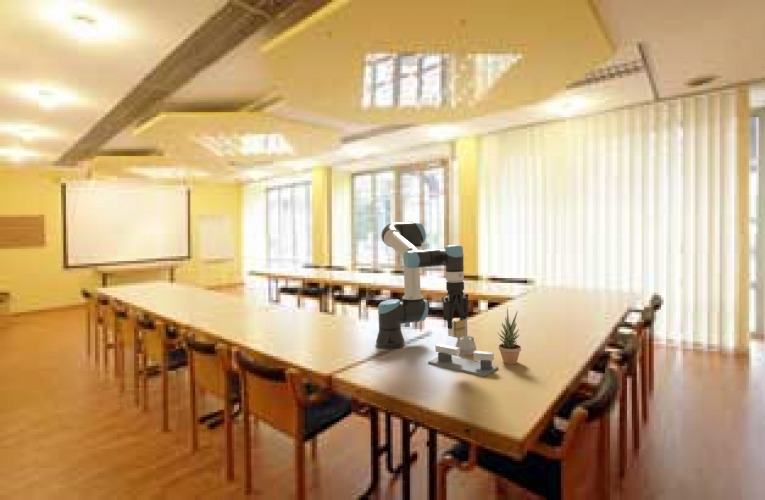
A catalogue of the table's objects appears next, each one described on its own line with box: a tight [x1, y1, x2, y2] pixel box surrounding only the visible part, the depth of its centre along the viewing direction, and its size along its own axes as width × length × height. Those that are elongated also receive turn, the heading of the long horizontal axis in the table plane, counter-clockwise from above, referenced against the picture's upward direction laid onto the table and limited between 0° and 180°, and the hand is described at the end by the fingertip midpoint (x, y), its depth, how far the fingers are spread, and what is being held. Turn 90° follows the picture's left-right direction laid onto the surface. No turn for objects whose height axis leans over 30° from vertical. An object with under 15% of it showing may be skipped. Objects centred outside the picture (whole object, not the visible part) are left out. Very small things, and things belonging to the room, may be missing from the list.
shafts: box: [435, 343, 495, 362], centre depth 181 cm, size 27×6×3 cm, turn 48°
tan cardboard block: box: [447, 317, 465, 339], centre depth 177 cm, size 5×5×7 cm
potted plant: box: [497, 307, 522, 365], centre depth 183 cm, size 10×10×25 cm
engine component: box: [455, 317, 477, 356], centre depth 201 cm, size 11×20×10 cm
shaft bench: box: [427, 352, 499, 378], centre depth 180 cm, size 28×12×4 cm, turn 48°
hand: (456, 334), depth 177 cm, fingers closed on tan cardboard block, 5 cm apart
